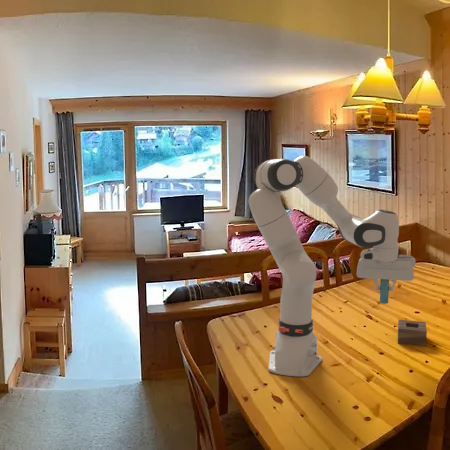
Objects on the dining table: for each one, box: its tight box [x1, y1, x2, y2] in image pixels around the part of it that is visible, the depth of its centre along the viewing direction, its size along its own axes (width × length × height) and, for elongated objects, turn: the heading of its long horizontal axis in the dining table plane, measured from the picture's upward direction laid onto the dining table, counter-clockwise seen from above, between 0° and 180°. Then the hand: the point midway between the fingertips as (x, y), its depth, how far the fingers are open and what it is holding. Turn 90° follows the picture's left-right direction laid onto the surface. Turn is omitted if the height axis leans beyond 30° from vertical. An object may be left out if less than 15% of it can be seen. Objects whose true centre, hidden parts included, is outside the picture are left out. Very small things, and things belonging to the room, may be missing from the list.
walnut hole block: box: [397, 319, 428, 347], centre depth 204 cm, size 10×10×6 cm
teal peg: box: [379, 279, 390, 305], centre depth 196 cm, size 3×3×10 cm
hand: (384, 290), depth 196 cm, fingers closed on teal peg, 3 cm apart
